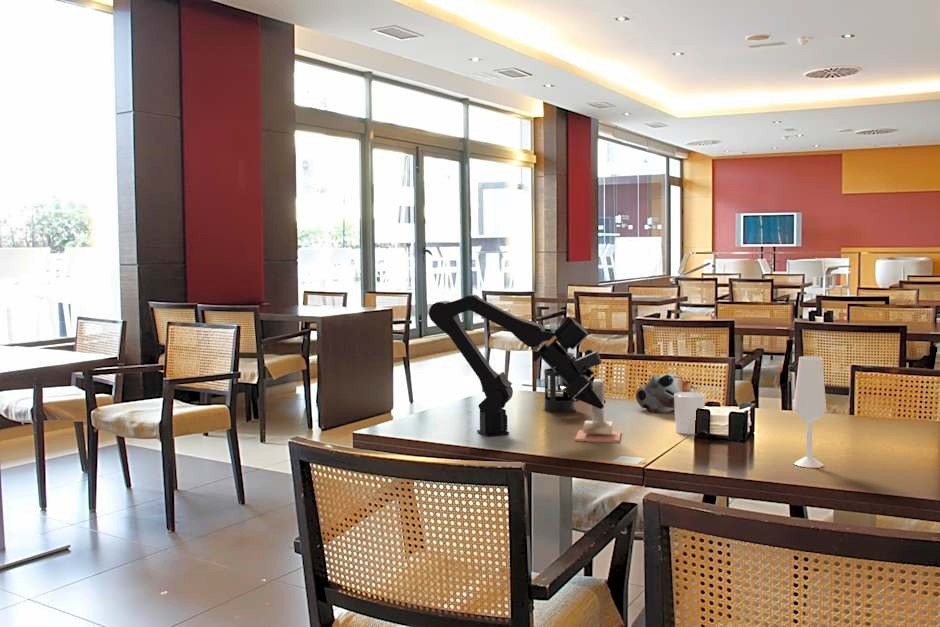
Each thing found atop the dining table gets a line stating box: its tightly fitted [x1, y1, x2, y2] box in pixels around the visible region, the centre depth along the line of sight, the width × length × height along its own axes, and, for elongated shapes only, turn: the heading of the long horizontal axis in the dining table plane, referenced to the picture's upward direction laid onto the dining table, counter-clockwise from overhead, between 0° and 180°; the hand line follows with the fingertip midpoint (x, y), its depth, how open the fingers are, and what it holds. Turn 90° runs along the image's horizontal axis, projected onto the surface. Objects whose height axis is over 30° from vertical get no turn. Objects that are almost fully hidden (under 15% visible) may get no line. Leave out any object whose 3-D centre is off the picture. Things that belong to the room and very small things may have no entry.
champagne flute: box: [793, 355, 827, 467], centre depth 196 cm, size 7×7×24 cm
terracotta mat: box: [574, 429, 622, 444], centre depth 228 cm, size 11×11×1 cm
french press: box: [543, 342, 581, 413], centre depth 266 cm, size 12×9×23 cm
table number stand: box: [582, 378, 614, 434], centre depth 227 cm, size 7×6×13 cm
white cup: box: [674, 391, 706, 436], centre depth 232 cm, size 8×8×10 cm
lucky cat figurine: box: [635, 373, 696, 414], centre depth 262 cm, size 15×12×14 cm
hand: (603, 405), depth 227 cm, fingers closed on table number stand, 6 cm apart
